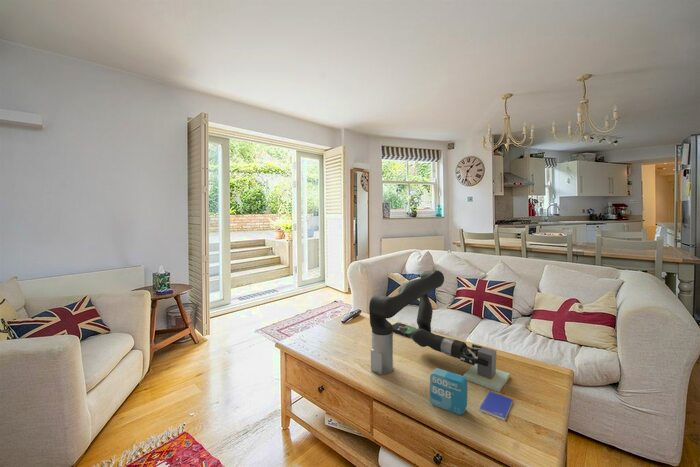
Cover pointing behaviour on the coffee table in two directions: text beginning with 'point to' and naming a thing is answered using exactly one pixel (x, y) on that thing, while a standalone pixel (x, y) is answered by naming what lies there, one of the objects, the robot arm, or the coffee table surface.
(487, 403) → the hard drive
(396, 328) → the disk drive
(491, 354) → the block
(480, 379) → the pin board
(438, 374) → the data package
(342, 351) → the coffee table surface
